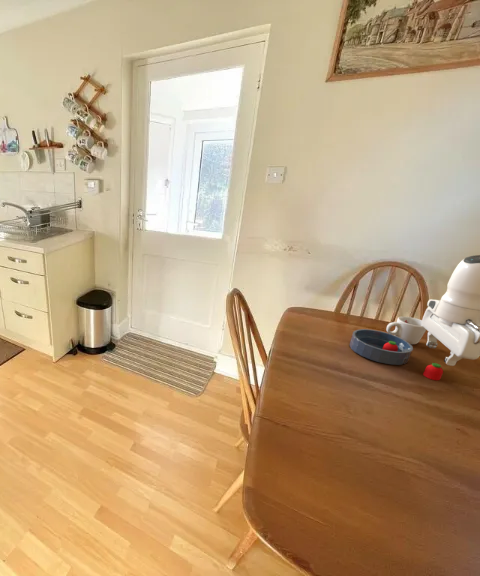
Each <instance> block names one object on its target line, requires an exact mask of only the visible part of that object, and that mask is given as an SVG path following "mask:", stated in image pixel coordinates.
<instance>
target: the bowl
mask: <svg viewBox="0 0 480 576" xmlns="http://www.w3.org/2000/svg"><path fill="white" fill-rule="evenodd" d="M389 341H394V342H396V345H397V346H398V351H397V352H395V351H388V350H383V346H384V344H385V343H388V342H389ZM348 346H349V348H350V349H351V350H352V351H353V352H354V353H356V354H357V355H359V356H360V357H364V358H366V359H368V360H371V361H374V362H376V363H381V364H385V365H393V366H401V365H405V364H407V363H408V362H409V360H410V358H411V356H412V353H413V351H414V348H413V344H410V343H408V342H407V341H405V340H404V339H402V338H399V337H397V336H395V335H392V334H389V333H388V332H385V331H381V330H376V329H369V328H361V329H356V330H353V331H352V334H351V337H350V340H349V345H348Z"/></svg>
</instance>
